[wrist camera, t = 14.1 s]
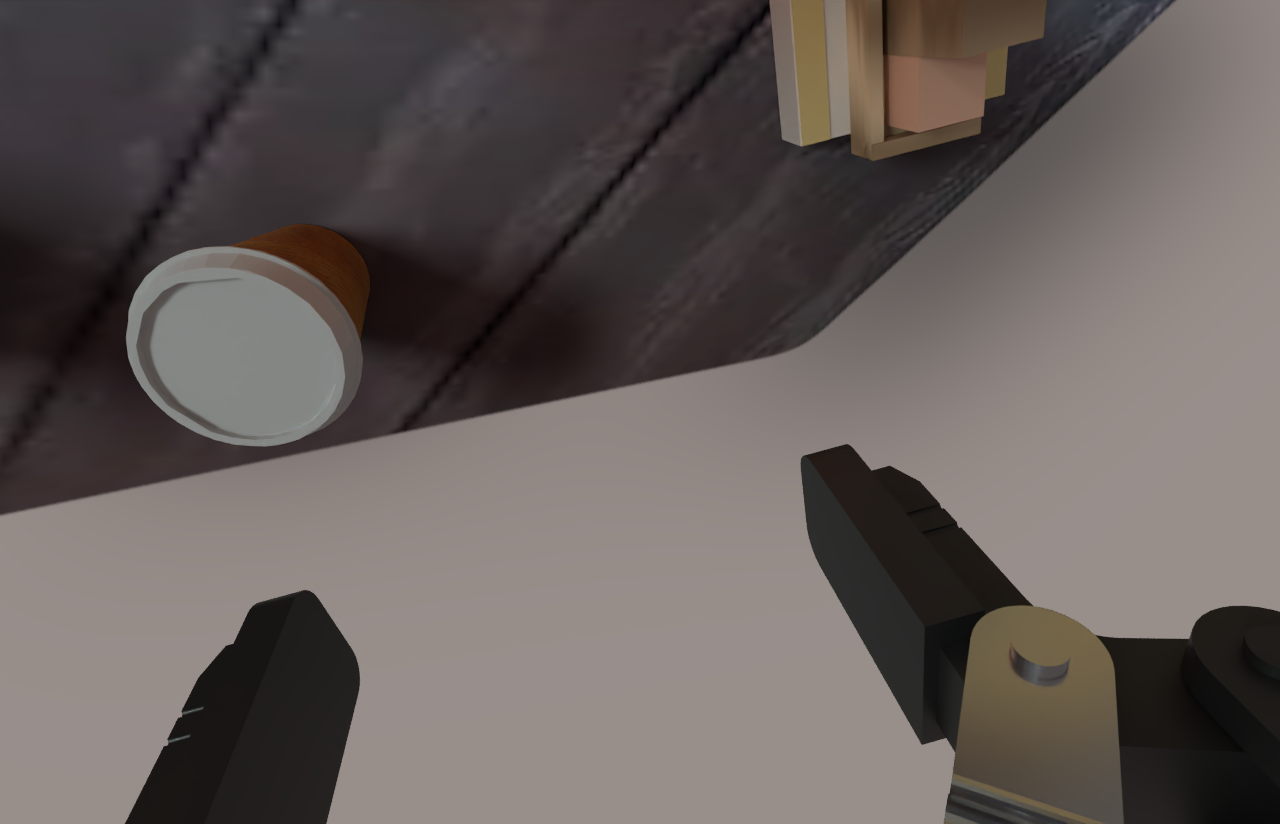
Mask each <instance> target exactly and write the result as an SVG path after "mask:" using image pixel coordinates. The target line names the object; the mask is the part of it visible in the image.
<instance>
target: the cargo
mask: <svg viewBox="0 0 1280 824" xmlns="http://www.w3.org/2000/svg"><path fill="white" fill-rule="evenodd" d="M986 68H987V52H985V53H981V54H977V55H973V56H969V57H965V58H944V57H921V56H898V55H884V69H885V125H887V126H891V127H896V128H900V129H904V130H908V131H913V132H917V133H920V132H923V131H927V130H931V129H935V128H939V127H943V126H947V125H951V124H955V123H958V122H962V121H966V120H970V119H974V118H978V117H982V116H984V102H985V85H986Z"/></svg>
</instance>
